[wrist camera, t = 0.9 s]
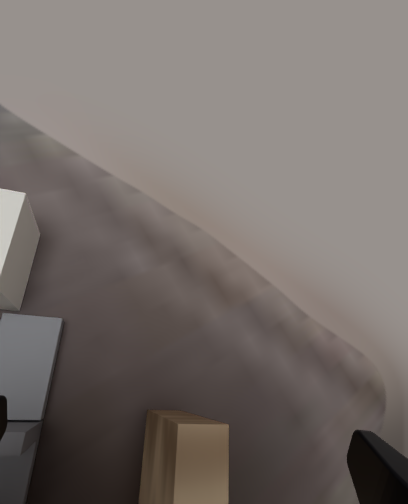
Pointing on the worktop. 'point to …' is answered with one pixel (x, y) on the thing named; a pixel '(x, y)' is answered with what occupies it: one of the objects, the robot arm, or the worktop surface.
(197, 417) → the door panel
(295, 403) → the worktop surface
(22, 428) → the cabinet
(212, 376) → the worktop surface
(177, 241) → the worktop surface
